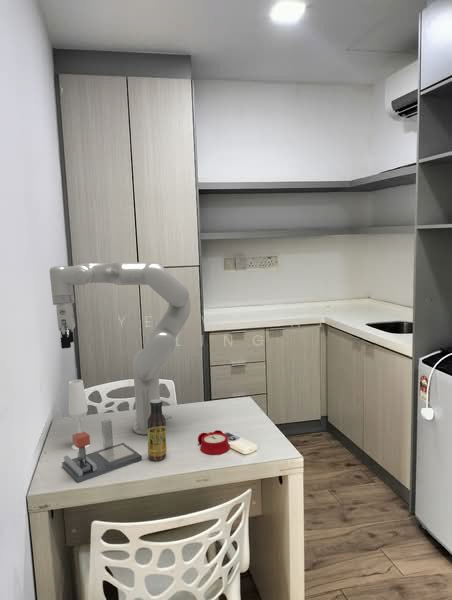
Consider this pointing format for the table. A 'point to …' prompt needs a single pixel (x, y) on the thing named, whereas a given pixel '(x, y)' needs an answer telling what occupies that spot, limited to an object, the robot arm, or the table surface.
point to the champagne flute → (77, 403)
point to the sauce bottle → (156, 432)
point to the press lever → (82, 449)
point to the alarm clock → (213, 442)
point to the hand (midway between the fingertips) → (68, 345)
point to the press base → (102, 457)
